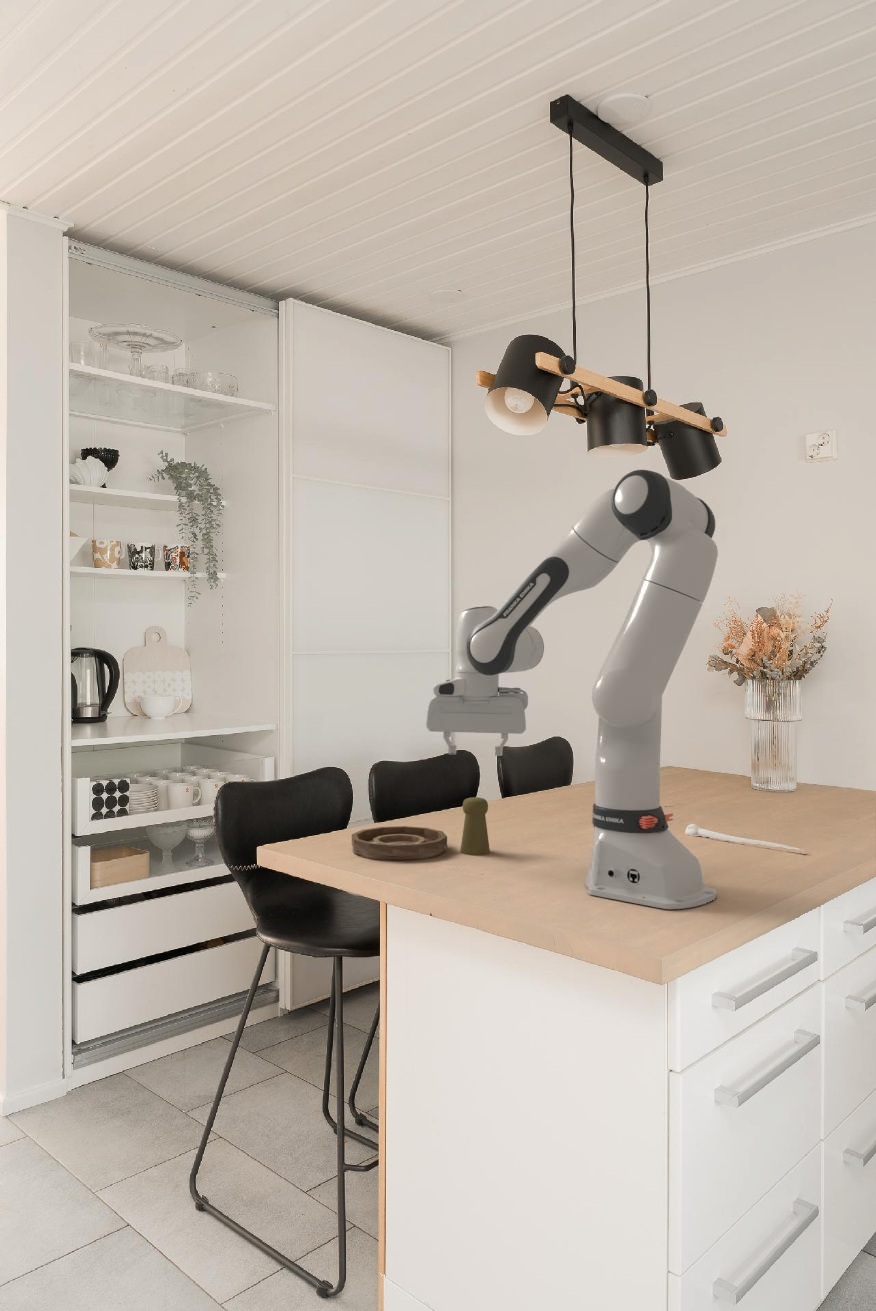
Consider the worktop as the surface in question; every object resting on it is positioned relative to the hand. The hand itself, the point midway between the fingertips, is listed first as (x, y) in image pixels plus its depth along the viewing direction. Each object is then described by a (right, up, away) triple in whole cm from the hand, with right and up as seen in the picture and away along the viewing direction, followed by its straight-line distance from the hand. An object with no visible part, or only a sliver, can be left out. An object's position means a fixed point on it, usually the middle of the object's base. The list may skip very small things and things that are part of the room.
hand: (475, 754), depth 191 cm
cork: (0, -20, 0) cm, 20 cm away
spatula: (+58, -20, +9) cm, 62 cm away
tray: (-16, -20, +1) cm, 25 cm away
